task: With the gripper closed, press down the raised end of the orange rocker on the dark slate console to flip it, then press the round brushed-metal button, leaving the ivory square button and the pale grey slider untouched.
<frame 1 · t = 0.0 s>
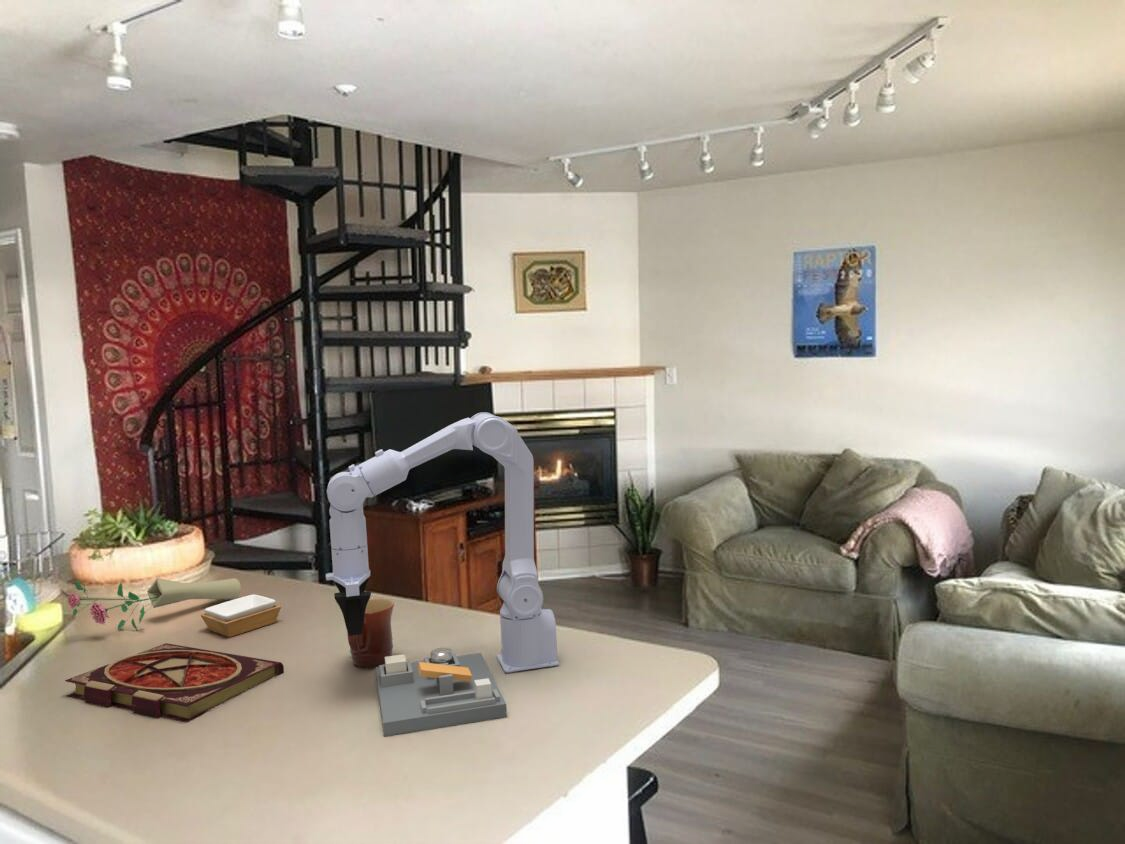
hand: (354, 626, 138), 10 cm above the counter, fingers open, 7 cm apart
book: (176, 689, 142), on the counter
slider knob: (482, 690, 126), point 3 cm above the counter, slide at 0.0 cm
button square: (395, 664, 135), point 4 cm above the counter, slide at 0.0 cm
console: (437, 696, 133), on the counter
rocker: (444, 673, 131), point 4 cm above the counter, hinge at -15.0°
button round: (441, 656, 138), point 4 cm above the counter, slide at 0.0 cm
mug: (368, 665, 148), on the counter
flower vase: (163, 621, 178), on the counter
soap dish: (242, 628, 171), on the counter
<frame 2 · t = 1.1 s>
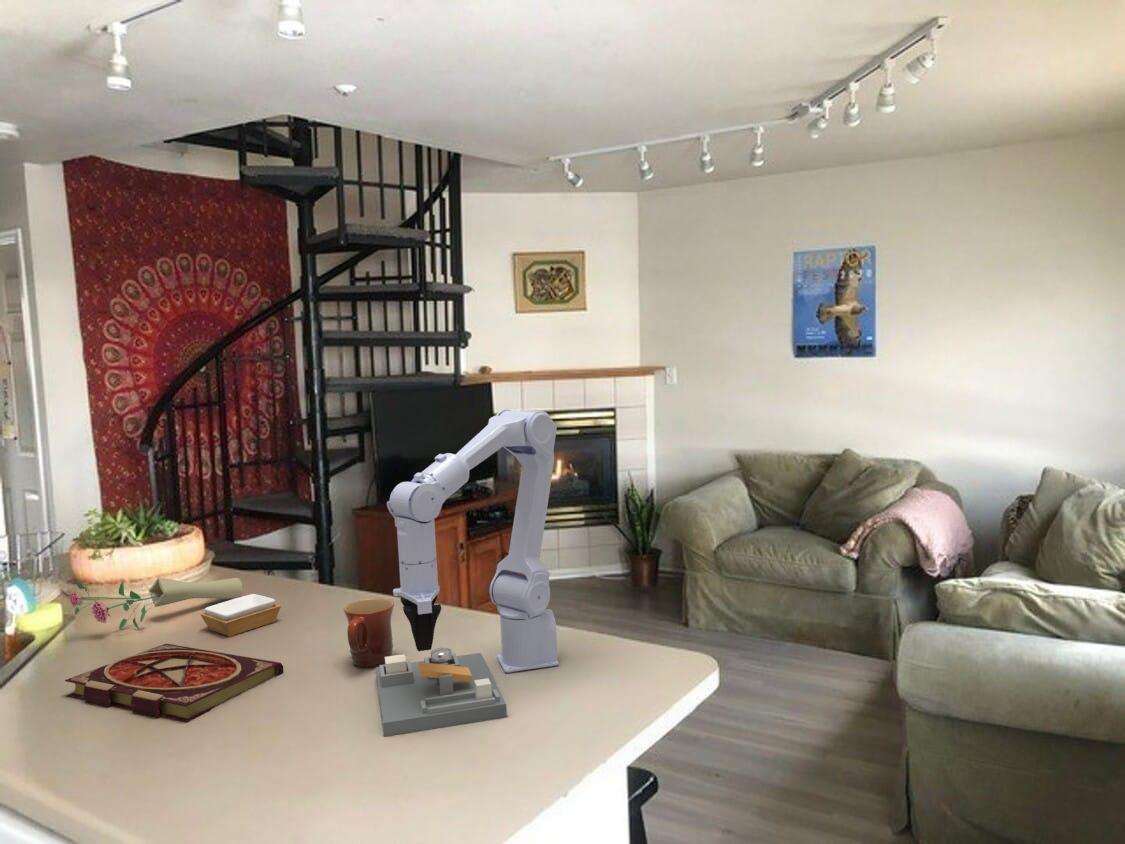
hand: (422, 645, 130), 9 cm above the counter, fingers open, 3 cm apart
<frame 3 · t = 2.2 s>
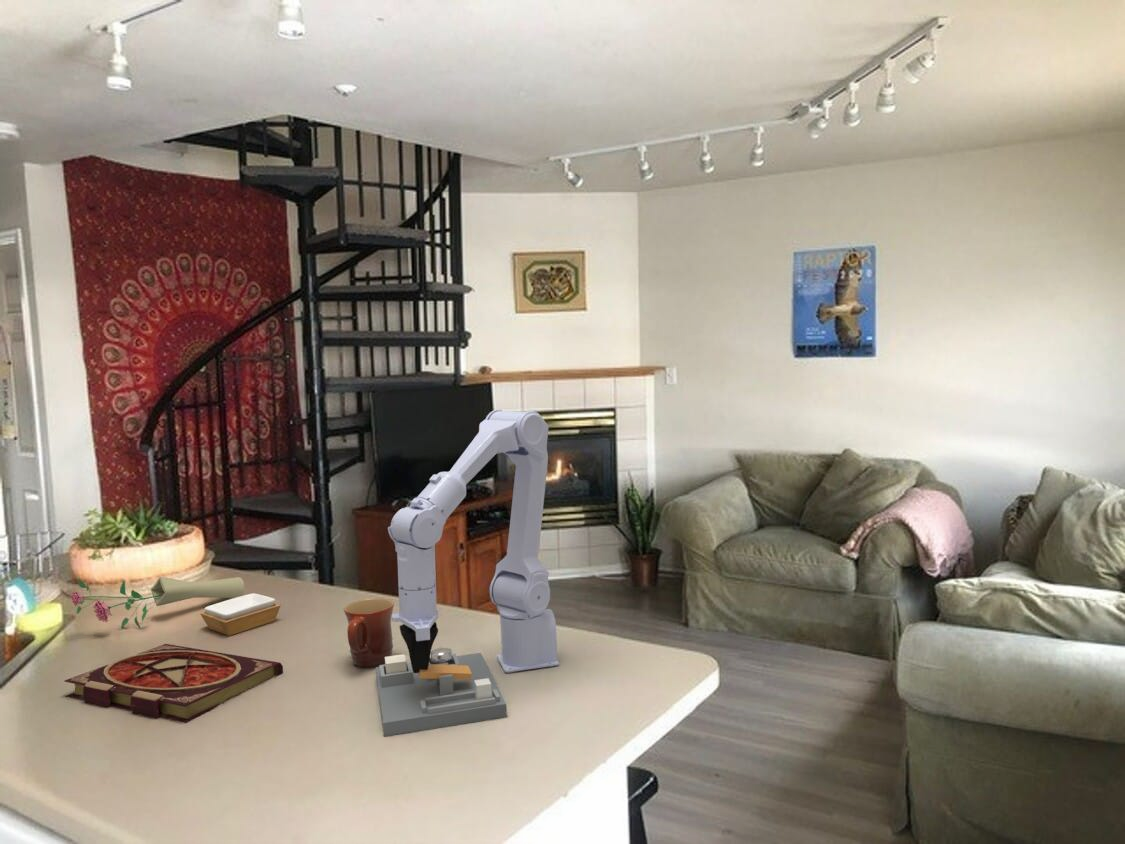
hand: (420, 671, 130), 5 cm above the counter, fingers closed, pressing on rocker
rocker: (444, 673, 131), point 4 cm above the counter, hinge at -10.4°, touching gripper
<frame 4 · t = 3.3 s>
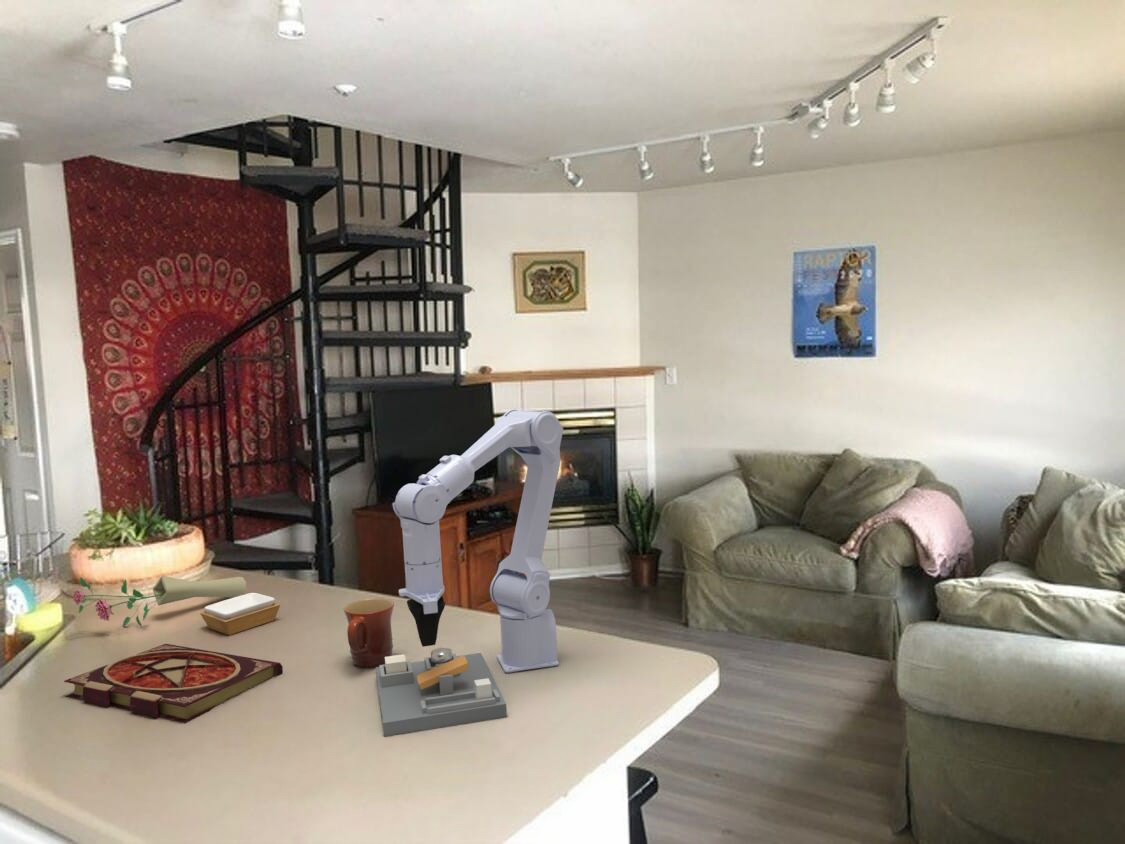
hand: (428, 644, 132), 9 cm above the counter, fingers closed
rocker: (443, 673, 131), point 4 cm above the counter, hinge at 16.5°
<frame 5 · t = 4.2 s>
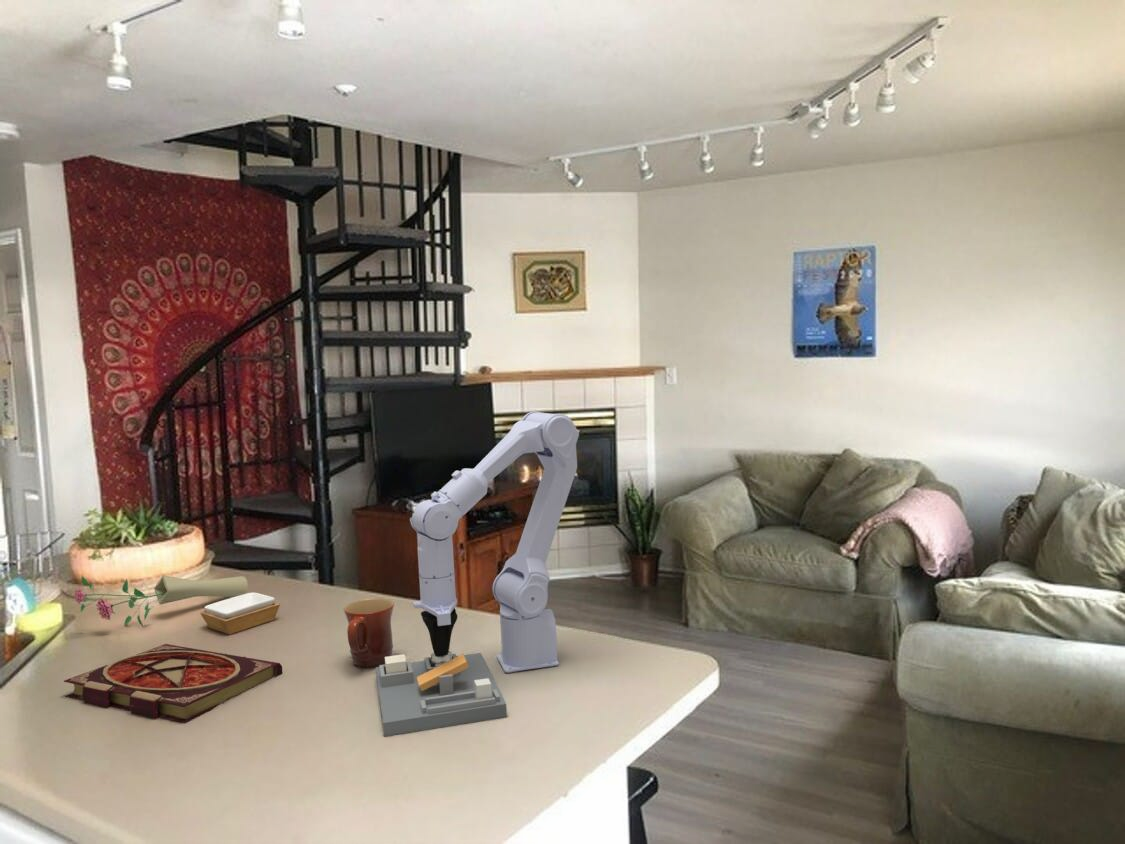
hand: (441, 654, 138), 5 cm above the counter, fingers closed, pressing on button round
rocker: (443, 673, 131), point 4 cm above the counter, hinge at 20.0°
button round: (441, 659, 138), point 4 cm above the counter, slide at 0.4 cm, touching gripper
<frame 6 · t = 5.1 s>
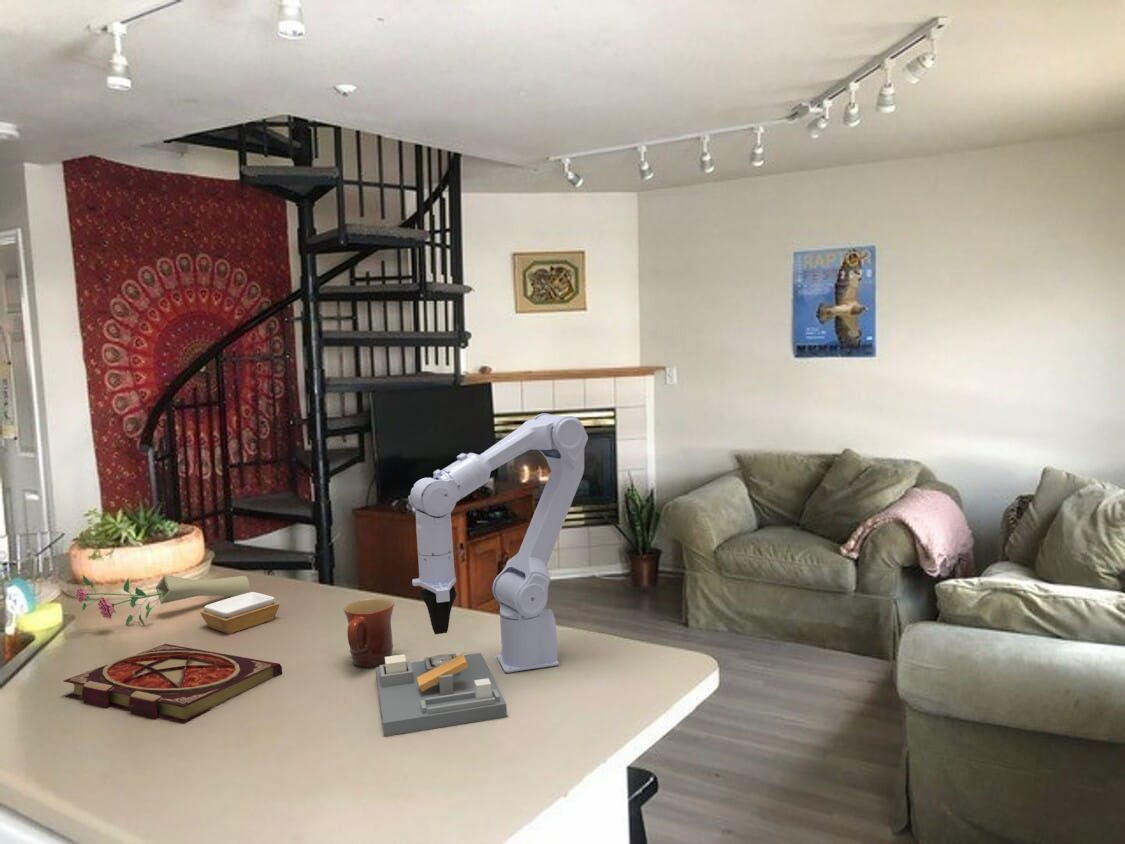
hand: (440, 632, 137), 9 cm above the counter, fingers closed
rocker: (443, 673, 131), point 4 cm above the counter, hinge at 21.1°
button round: (441, 663, 138), point 3 cm above the counter, slide at 1.1 cm
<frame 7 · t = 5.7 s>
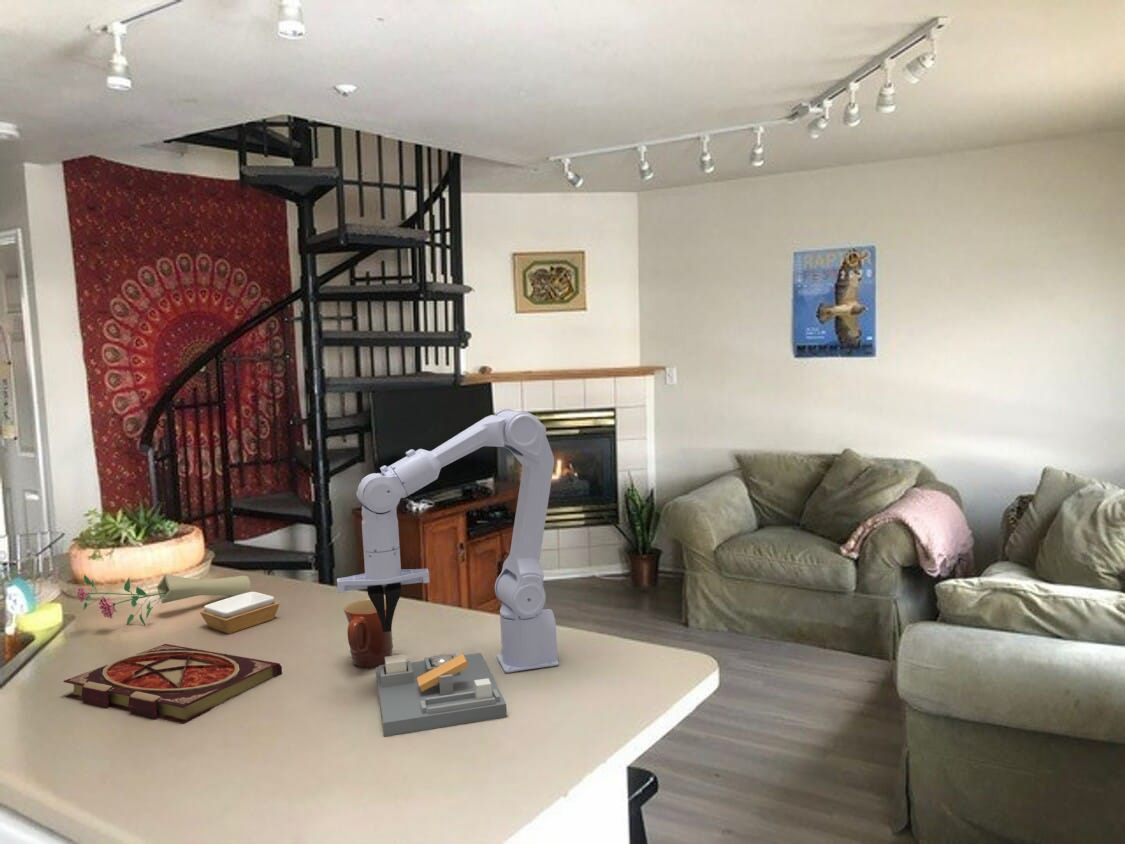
hand: (386, 629, 136), 10 cm above the counter, fingers closed
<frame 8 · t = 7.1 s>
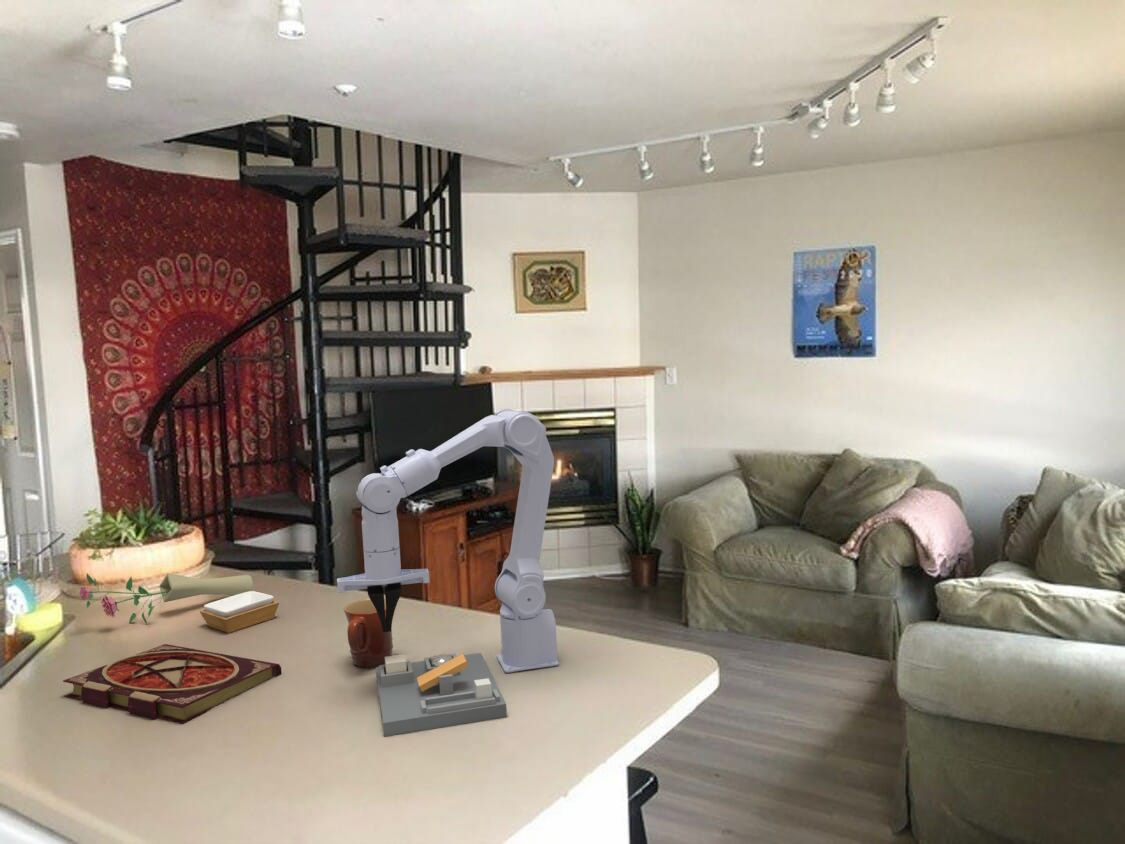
hand: (386, 629, 136), 10 cm above the counter, fingers closed
at the end: rocker at +21° (first picture: -15°); button round slide at 1.1 cm; button square slide at 0.0 cm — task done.
